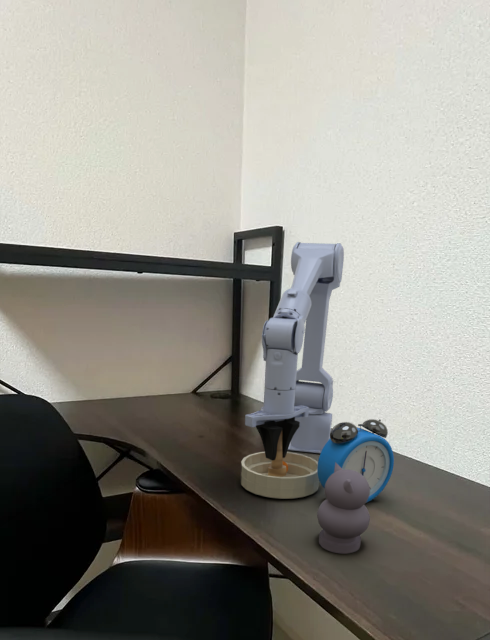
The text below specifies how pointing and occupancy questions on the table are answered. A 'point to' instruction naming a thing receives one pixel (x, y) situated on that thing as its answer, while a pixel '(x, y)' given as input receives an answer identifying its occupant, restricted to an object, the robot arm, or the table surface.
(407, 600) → the table surface
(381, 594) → the table surface
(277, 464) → the muddler
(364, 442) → the alarm clock
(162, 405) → the table surface
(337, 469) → the cat figurine
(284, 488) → the bowl
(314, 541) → the table surface
